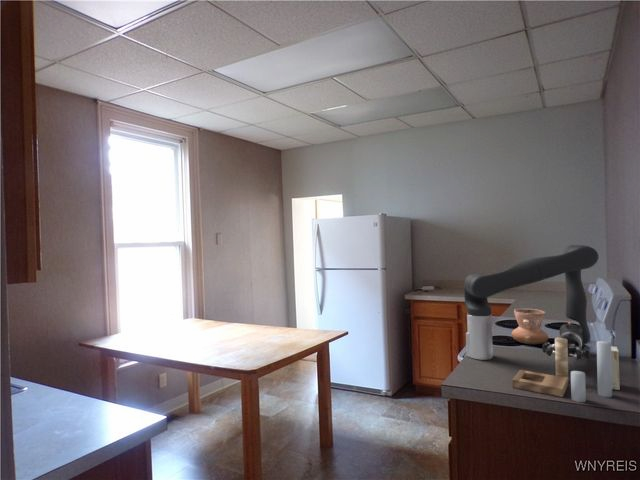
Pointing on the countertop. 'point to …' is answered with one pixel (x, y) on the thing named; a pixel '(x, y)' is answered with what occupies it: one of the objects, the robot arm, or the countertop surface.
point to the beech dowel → (561, 357)
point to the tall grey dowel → (604, 368)
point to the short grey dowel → (578, 386)
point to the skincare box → (615, 368)
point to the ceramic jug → (529, 326)
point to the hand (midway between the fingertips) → (563, 355)
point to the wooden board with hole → (540, 383)
